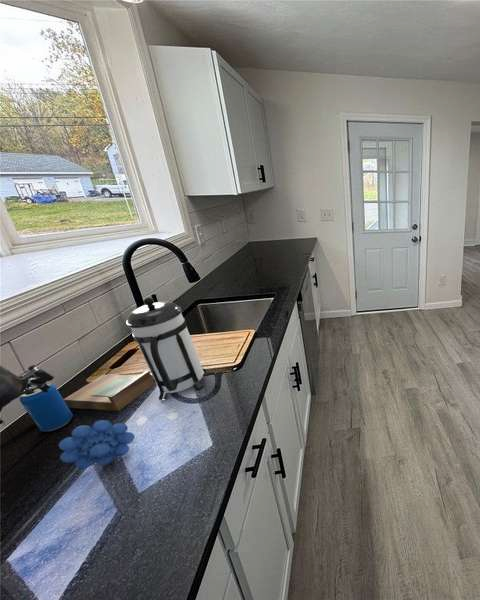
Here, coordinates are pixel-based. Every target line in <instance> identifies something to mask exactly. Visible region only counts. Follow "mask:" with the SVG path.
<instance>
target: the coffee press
mask: <svg viewBox="0 0 480 600" xmlns="http://www.w3.org/2000/svg"><path fill="white" fill-rule="evenodd" d="M182 312H183V309H182V307H181V306H179V305H178V304H177V303H175V302H173V301H166V300H163V301H155V300H154V298H152V297H146V298H144V300H143V305H141V306H139V307H137V308H135V309H133V310H132V311H130V313H129V314H128V316H127V318H126V319H127V320H126V321H125V324H126V327H128V328H129V329H130V331H131V333H132V337H133V340H134V341H135V342H136V343H137V346H138V347H139V350H140V352H141V354H142V356H143V358H144V360H145V363H146V364H147V366H148V370H149V372H150V374H151V376H152V378H153V381H154V383H155V384H156V387H157V388H158V389H159V396H158V401H162V402H165V401H167V400H168V397H169V395H170V394H173V393H174V394H175V393H179V392H183V391H186V390H187V389H190V388H194V389H195V390H197V391H201V390H202V389H203V388H204V384H202V383H201V382H200V381H201V380H202V378H203V377H204V374H206V368H203V365H202V363H201V360H200V358H199V355H198V352H197V350H196V348H195V345H194V342H193V340H192V337H191V334H190V331H189V330H188V324H187V322H186V319H185V318H184V316H183V314H182Z"/></svg>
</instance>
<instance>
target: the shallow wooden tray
mask: <svg viewBox="0 0 480 600" xmlns="http://www.w3.org/2000/svg"><path fill="white" fill-rule="evenodd" d="M155 384H156V382H155V380H154V378H153V375H152V373H151V371H150V370H145V371H144V372H142V373H141V374H139V375H132V374H131V375H129V374H108V373H107V374H102V375H101V376H99V377H97V378H96V379H94V380H93V381H90V383H87V384H85V385H84V386H83V387H81V388H79V389H78V390H77V391H75V392H72V394H70V395H67V397H65V398H63V400H64V401H65V403H66V405H67V406H68V408H69V409H82V410H83V409H85V410H98V411H100V410H101V411H114V412H119V411H121V410H122V409H124V408H125V407H126V406H128V405H130V403H132V402H133V401H135V400H136V399H138V397H140V396H141V395H143V393H145V392H146V391H148V390H149V389H150V388H152V387H153V386H154V385H155Z"/></svg>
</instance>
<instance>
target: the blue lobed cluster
mask: <svg viewBox="0 0 480 600" xmlns="http://www.w3.org/2000/svg"><path fill="white" fill-rule="evenodd" d="M128 429H129V427H128V425H127V424H126V423H123V422H117V423H114V424H112V422H110V421H109V420H107V419H100V420H96V421H95V422H94V423H93V424H92V425H91V426H90V425H83V424H82V425H79V426H76V427H75V428H74V429H72V431H71V436H68V437H65V438H63V439H62V440H60V442H59V443H58V448H59V449H60V450H61V451H63V452H62V453H61V454H60V457H59V458H60V460H61V461H62V462H63V463H66V464H69V463H74V465H75V466H76V467H77V468H78V469H88V468H90V467H92V466H93V465H94V464H95V463H96V464H97V465H98V466H108V465H109V464H111V463H113V461H114V460H115V457H122V456H124V455H126V454H127V453H128V452H129V451H130V446H129V445H128V444H130V443H132V442H133V441H134V440H135V435H134V433H133V432H130V431H128Z"/></svg>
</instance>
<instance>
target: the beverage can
mask: <svg viewBox="0 0 480 600" xmlns="http://www.w3.org/2000/svg"><path fill="white" fill-rule="evenodd" d="M46 384H47V385H48V386H50V388H49V389H47V390H49V391H48V392H47V393H45V392H43V391H42V390H40V389H36V390H34V392H31V393H27V394H23V395H21V396H19V402H20V404H21V405H22V406H23V407H24V409H25V411H26V412H27V414H28V415H29V416H30V418H31V419H32V421H33V422H34V423H35V425H36V426H37V428H38V429H39V431H41V432H53V431H56V430H59V429H61V428H62V427H65V426H66V425H67V424H69V423H70V421H71V420H72V419H73V417H74V414H73V412H72V411H71V410H70V409H71V408H68V406H67V405H66V403H65V401H64V400H63V399H64V398H63V396H62V394H61V393H60V391H59V390H58V388H57V387H56V385H54V384H51V382H50V381H47V382H46Z"/></svg>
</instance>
